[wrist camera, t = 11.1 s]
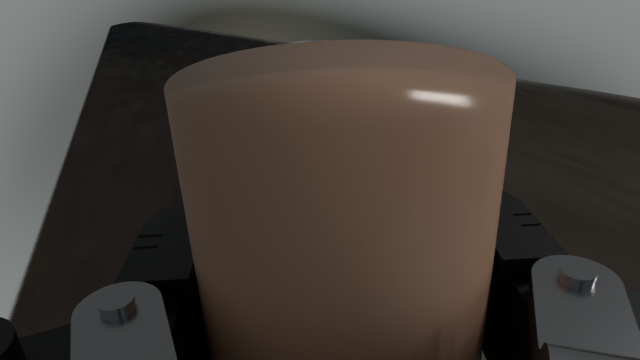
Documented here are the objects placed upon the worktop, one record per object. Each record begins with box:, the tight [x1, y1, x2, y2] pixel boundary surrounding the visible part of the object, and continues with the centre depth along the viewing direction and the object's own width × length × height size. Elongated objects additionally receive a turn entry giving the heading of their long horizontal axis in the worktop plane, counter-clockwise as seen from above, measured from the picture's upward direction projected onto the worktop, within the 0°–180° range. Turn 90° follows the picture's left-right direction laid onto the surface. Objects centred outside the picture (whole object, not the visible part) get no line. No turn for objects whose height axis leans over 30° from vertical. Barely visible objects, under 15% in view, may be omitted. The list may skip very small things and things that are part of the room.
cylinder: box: [164, 40, 516, 360], centre depth 10 cm, size 5×5×10 cm
